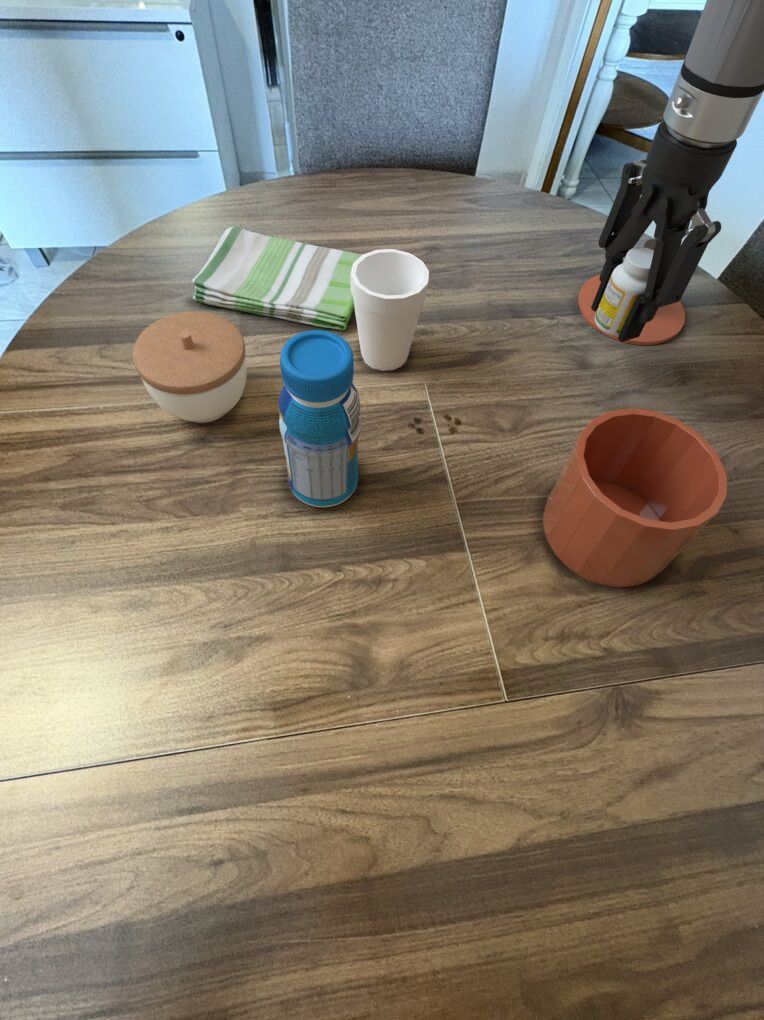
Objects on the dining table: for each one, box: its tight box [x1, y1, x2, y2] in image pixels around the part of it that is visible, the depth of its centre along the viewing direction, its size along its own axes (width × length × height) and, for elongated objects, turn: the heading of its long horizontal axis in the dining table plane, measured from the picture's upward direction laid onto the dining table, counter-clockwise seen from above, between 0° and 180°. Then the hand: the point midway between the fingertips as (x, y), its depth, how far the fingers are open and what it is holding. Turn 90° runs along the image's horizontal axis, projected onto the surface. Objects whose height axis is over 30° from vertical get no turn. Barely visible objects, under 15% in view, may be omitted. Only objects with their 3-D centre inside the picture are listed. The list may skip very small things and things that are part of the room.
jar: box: [542, 407, 728, 588], centre depth 65 cm, size 15×15×12 cm
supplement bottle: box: [595, 246, 654, 336], centre depth 74 cm, size 5×5×10 cm
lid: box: [577, 238, 686, 346], centre depth 87 cm, size 16×16×11 cm
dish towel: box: [191, 225, 363, 331], centre depth 90 cm, size 17×23×4 cm
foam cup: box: [351, 248, 430, 372], centre depth 79 cm, size 10×9×13 cm
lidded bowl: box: [132, 311, 248, 424], centre depth 74 cm, size 13×13×11 cm
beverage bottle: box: [277, 329, 362, 508], centre depth 64 cm, size 8×8×20 cm
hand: (614, 321), depth 78 cm, fingers closed on supplement bottle, 5 cm apart
